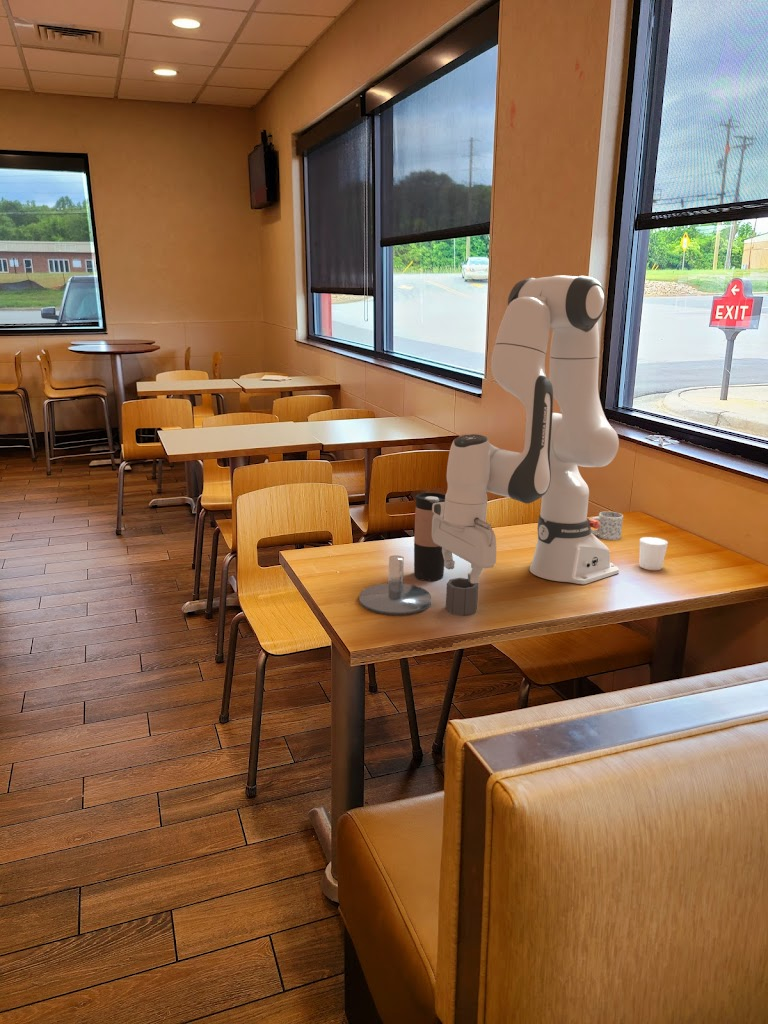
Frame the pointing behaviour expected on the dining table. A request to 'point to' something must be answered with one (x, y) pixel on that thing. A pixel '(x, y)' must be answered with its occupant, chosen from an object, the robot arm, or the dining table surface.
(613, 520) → the mug
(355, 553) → the dining table surface
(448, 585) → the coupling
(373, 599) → the grey metal round base
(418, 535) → the travel mug
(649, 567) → the white short tapered cylinder
